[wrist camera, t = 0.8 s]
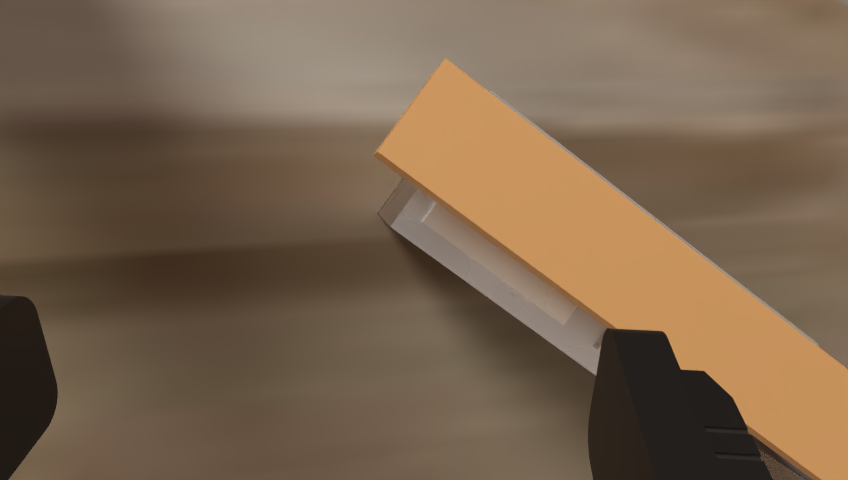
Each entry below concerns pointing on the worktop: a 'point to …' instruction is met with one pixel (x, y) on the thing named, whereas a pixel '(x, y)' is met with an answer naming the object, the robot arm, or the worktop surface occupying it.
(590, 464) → the robot arm
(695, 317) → the light brown wooden bar
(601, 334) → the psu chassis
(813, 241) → the worktop surface
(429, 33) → the worktop surface
